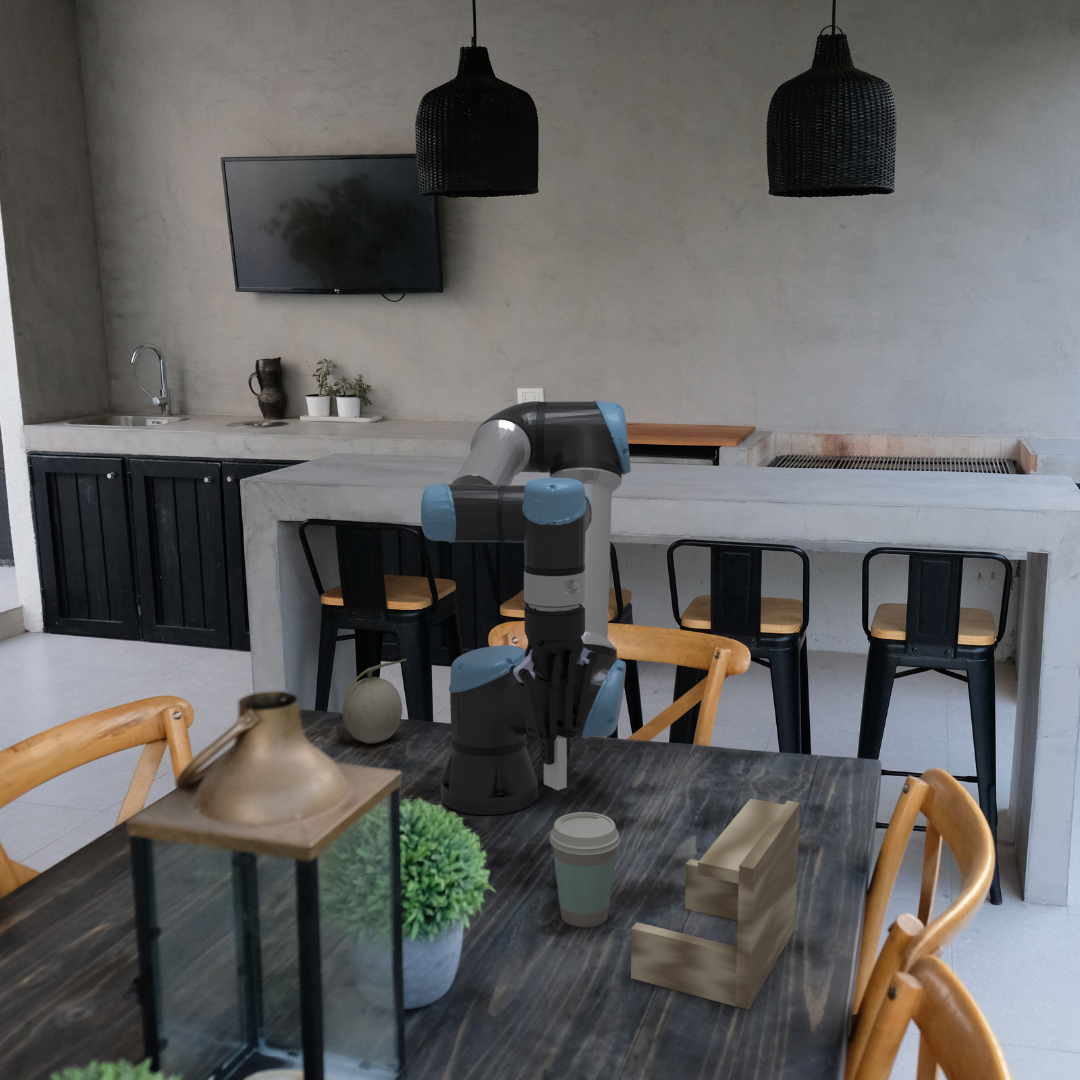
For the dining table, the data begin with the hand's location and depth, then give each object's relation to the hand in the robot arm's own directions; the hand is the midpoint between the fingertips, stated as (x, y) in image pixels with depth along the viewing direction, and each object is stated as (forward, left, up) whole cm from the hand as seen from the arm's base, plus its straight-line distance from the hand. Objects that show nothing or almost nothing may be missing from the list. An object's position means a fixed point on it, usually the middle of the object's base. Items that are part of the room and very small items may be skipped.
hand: (555, 785), depth 143 cm
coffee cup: (+6, -4, -15) cm, 16 cm away
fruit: (-54, +35, -15) cm, 66 cm away
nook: (+24, -5, -14) cm, 28 cm away
